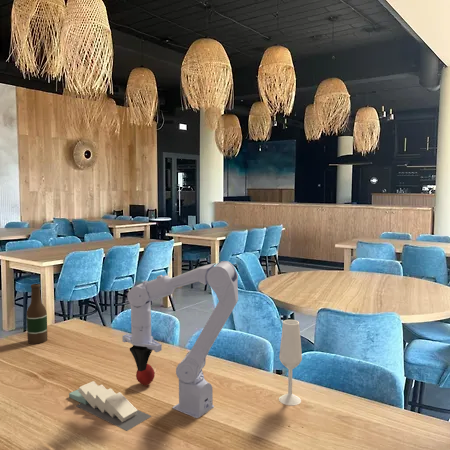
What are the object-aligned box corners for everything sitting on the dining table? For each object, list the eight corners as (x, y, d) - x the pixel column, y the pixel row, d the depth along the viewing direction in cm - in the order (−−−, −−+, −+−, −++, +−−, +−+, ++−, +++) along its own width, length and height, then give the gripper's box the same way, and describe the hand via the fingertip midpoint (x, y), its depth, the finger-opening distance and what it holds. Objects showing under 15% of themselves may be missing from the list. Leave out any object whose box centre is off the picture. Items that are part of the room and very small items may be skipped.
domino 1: (99, 392, 129) (83, 387, 134) (85, 399, 125) (69, 393, 130) (99, 397, 129) (83, 392, 134) (85, 404, 125) (69, 398, 130)
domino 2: (109, 397, 127) (93, 380, 131) (95, 404, 123) (79, 387, 127) (108, 402, 127) (92, 385, 131) (94, 409, 123) (78, 391, 127)
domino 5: (137, 410, 120) (119, 391, 124) (123, 417, 116) (105, 398, 120) (136, 414, 120) (118, 396, 124) (122, 422, 116) (104, 403, 120)
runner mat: (151, 417, 119) (151, 416, 119) (126, 432, 112) (126, 430, 112) (101, 395, 132) (101, 393, 132) (75, 407, 125) (75, 405, 125)
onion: (146, 380, 143) (146, 356, 142) (158, 385, 139) (158, 361, 138) (132, 386, 138) (132, 362, 137) (144, 391, 134) (144, 367, 134)
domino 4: (127, 405, 122) (110, 387, 126) (113, 413, 118) (96, 394, 122) (126, 410, 122) (109, 392, 126) (112, 417, 118) (95, 398, 122)
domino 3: (118, 401, 124) (101, 384, 128) (104, 408, 120) (87, 390, 124) (117, 406, 125) (100, 388, 129) (103, 413, 121) (86, 394, 125)
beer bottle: (51, 340, 180) (49, 283, 178) (34, 345, 173) (32, 287, 171) (40, 336, 184) (38, 281, 182) (23, 342, 177) (21, 285, 175)
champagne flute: (274, 397, 131) (275, 320, 129) (293, 392, 134) (294, 317, 132) (286, 407, 125) (287, 326, 123) (305, 402, 128) (307, 324, 126)
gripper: (168, 326, 125) (169, 371, 126) (134, 317, 133) (135, 359, 135) (151, 332, 119) (151, 380, 120) (116, 323, 128) (117, 367, 129)
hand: (141, 369), depth 127 cm, fingers closed
